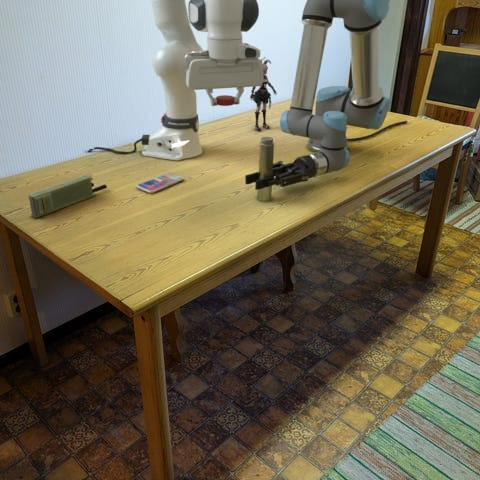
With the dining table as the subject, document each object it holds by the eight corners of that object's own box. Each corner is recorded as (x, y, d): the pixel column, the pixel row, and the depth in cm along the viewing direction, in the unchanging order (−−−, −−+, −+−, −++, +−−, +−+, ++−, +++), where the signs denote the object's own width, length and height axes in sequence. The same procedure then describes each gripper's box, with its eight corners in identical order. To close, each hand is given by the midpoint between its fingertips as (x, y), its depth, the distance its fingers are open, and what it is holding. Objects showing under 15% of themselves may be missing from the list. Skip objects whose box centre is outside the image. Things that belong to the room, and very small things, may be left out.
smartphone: (184, 177, 167) (150, 191, 157) (184, 180, 167) (151, 194, 157) (168, 171, 171) (134, 185, 161) (168, 174, 171) (135, 188, 161)
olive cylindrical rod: (255, 196, 157) (257, 136, 148) (268, 195, 158) (271, 135, 149) (260, 202, 153) (262, 141, 144) (273, 200, 155) (276, 139, 145)
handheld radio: (30, 215, 144) (102, 188, 161) (37, 219, 142) (109, 191, 159) (26, 193, 140) (100, 168, 157) (33, 197, 138) (107, 171, 155)
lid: (232, 106, 132) (232, 100, 131) (213, 105, 133) (213, 99, 132) (236, 102, 136) (236, 95, 136) (218, 100, 137) (217, 94, 136)
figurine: (253, 133, 212) (255, 58, 197) (243, 130, 216) (244, 56, 201) (277, 126, 221) (281, 54, 206) (267, 123, 224) (270, 52, 210)
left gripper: (186, 53, 123) (189, 110, 130) (266, 50, 128) (264, 105, 135) (181, 49, 128) (184, 104, 135) (258, 46, 133) (257, 99, 140)
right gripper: (327, 186, 158) (268, 204, 145) (290, 169, 170) (234, 184, 158) (329, 163, 154) (269, 180, 142) (292, 147, 166) (234, 161, 154)
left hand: (225, 104), depth 135 cm, fingers closed on lid, 5 cm apart
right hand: (251, 182), depth 150 cm, fingers closed on olive cylindrical rod, 4 cm apart
